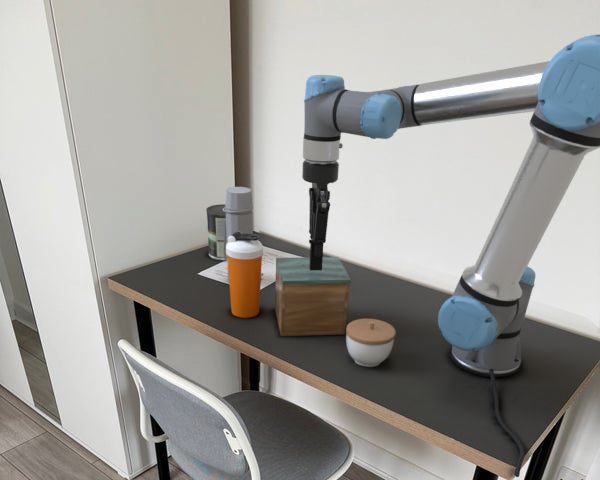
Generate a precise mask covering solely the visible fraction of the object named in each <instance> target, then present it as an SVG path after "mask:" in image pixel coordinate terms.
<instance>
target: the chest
mask: <svg viewBox="0 0 600 480" xmlns="http://www.w3.org/2000/svg"><path fill="white" fill-rule="evenodd" d="M350 284H351V283H317V284H283V283H282V280H281V276H280V273H279V269H278V266H277V262H276V261H275V295H274V296H275V298H274V300H275V301H274V302H275V303H274V304H275V305H274V312H275V316H276V320H277V321H276V322H277V325H278V329H279V333H280V337H292V336H293V337H296V336H297V337H298V336H299V337H300V336H333V335H335V336H336V335H337V336H339V335H346V328H347V316H348V305H349V296H350V295H349V294H350Z"/></svg>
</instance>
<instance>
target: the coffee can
mask: <svg viewBox="0 0 600 480" xmlns="http://www.w3.org/2000/svg"><path fill="white" fill-rule="evenodd" d="M225 204H226V203H225ZM225 204H224V203H223V204H214V205H210V206H208V207H207V208H206V209H205V210H206V221H207V222H206V223H207V238H208V241H207V243H208V256H209V257H210V258H211V259H213V260H217V261H226V260H225V259H224V251H223V250H224V234H225V218H226V212H224V211H223V208H225ZM224 210H225V209H224ZM226 245H227V233H226ZM225 251H226V250H225ZM226 258H227V254H226Z"/></svg>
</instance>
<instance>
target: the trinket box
mask: <svg viewBox="0 0 600 480" xmlns="http://www.w3.org/2000/svg"><path fill="white" fill-rule="evenodd" d="M396 333H397V332H396V329H395V327H394V326H393V325H392V324H390V323H389V322H386V321H384V320H380V319H375V318H358V319H354V320H352V321H350V322H349V323H348V324H346V327H345V343H346V344H345V345H346V350H347V352H348V354H349V356H350V357H351V358H352V359H353V361H354V363H355V364H357V365H359V366H361V367H367V368H374V367H378V366H379V365H380V364H381V363H382V362H384V361H385V360H386V359H387V358H388V357H389V355H391V352H392V350H393V348H394V343H395V338H396Z"/></svg>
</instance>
